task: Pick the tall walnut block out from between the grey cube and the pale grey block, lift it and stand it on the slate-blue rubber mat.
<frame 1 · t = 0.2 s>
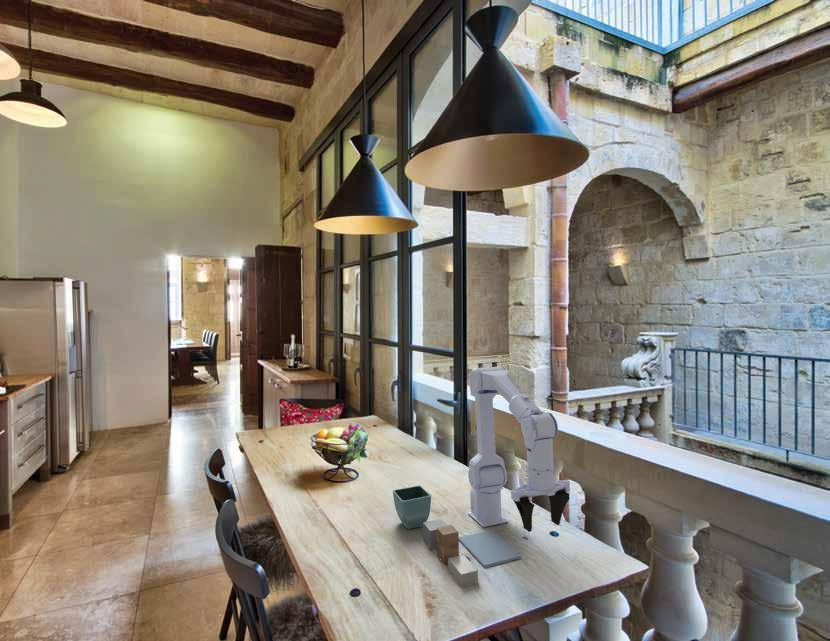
hand: (541, 526, 102), 10 cm above the table, tool pointing down, fingers open, 7 cm apart
flower pot: (412, 525, 126), on the table
grey cube: (436, 544, 115), on the table
slate mat: (488, 548, 112), on the table
pale grey block: (462, 577, 100), on the table
tall walnut block: (448, 558, 108), on the table
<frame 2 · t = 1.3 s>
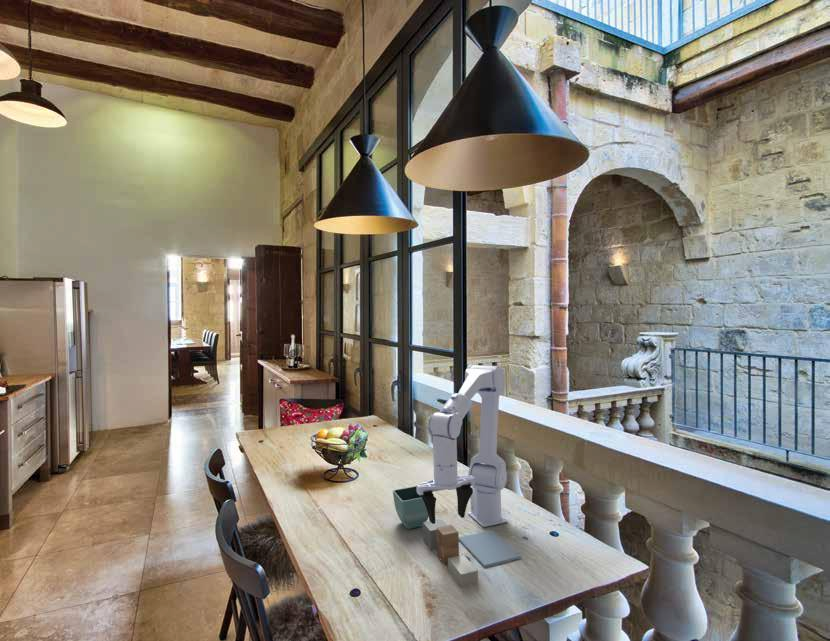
hand: (446, 519, 108), 10 cm above the table, tool pointing down, fingers open, 7 cm apart
nothing on the table moved.
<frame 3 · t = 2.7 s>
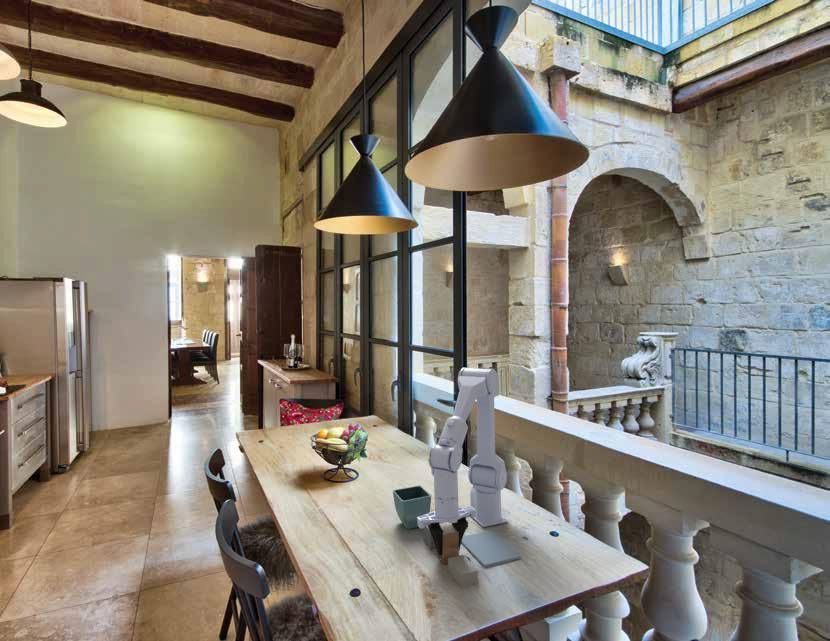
hand: (447, 551, 108), 2 cm above the table, tool pointing down, fingers closed on tall walnut block, 4 cm apart
tall walnut block: (448, 558, 108), on the table, touching gripper
everything else where it was.
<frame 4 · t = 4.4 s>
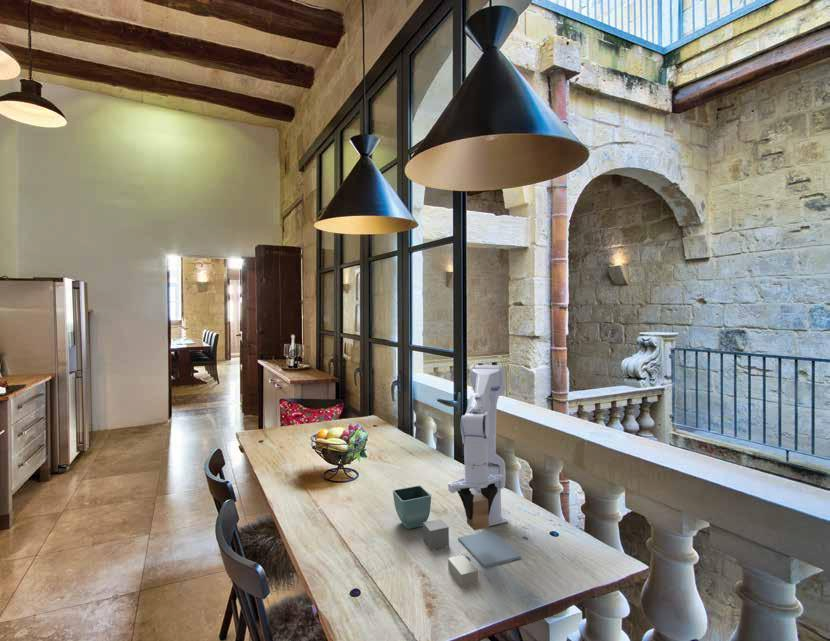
hand: (477, 516, 111), 9 cm above the table, tool pointing down, fingers closed on tall walnut block, 4 cm apart
tall walnut block: (477, 525, 111), point 6 cm above the table, touching gripper
everything else where it was.
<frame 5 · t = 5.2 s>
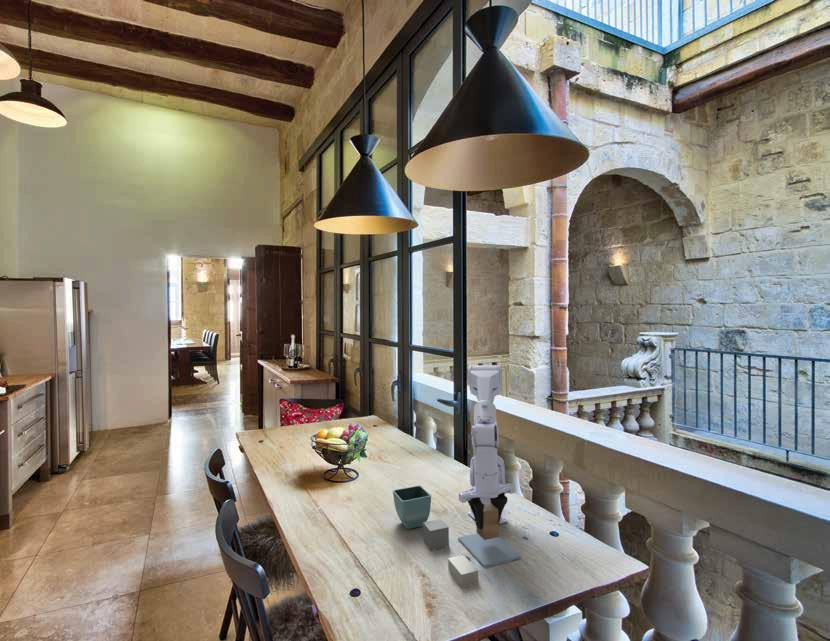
hand: (487, 525, 112), 6 cm above the table, tool pointing down, fingers closed on tall walnut block, 4 cm apart
tall walnut block: (487, 534, 112), point 3 cm above the table, touching gripper
everything else where it was.
when the fingers open (3 cm above the table, at t = 6.1 s): tall walnut block stays where it is, resting on slate mat.
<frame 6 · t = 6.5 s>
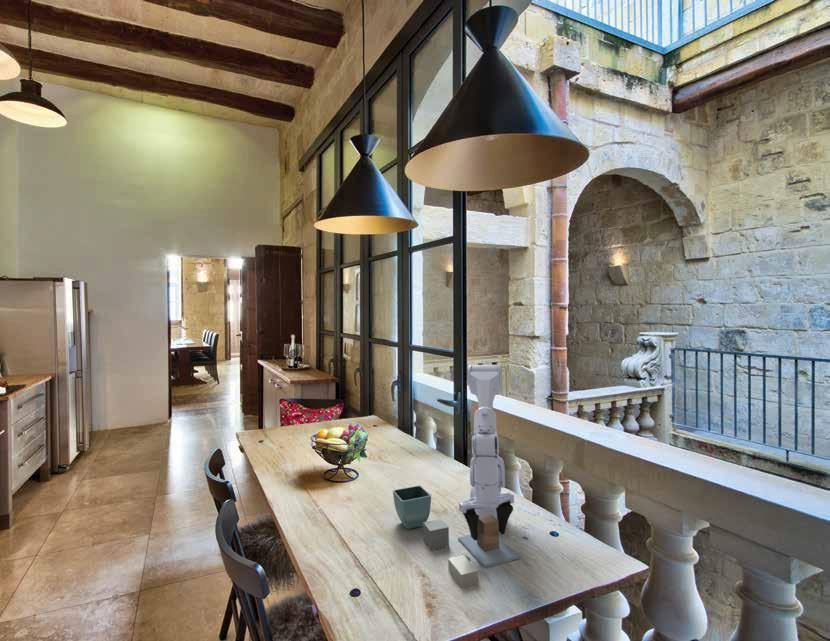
hand: (487, 535, 112), 3 cm above the table, tool pointing down, fingers open, 7 cm apart
tall walnut block: (488, 546, 112), point 1 cm above the table, touching slate mat
everything else where it was.
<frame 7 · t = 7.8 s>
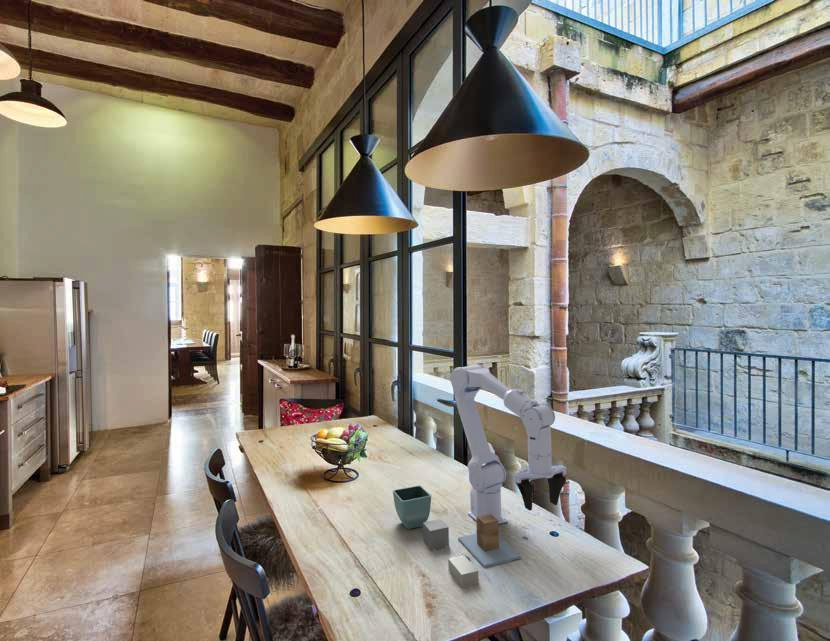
hand: (541, 506, 113), 9 cm above the table, tool pointing down, fingers open, 7 cm apart
nothing on the table moved.
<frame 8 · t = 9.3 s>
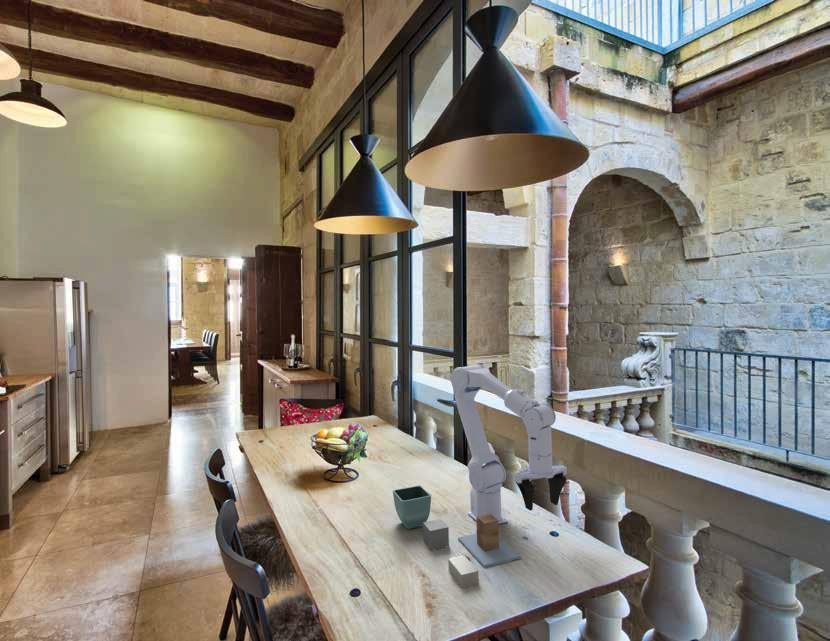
hand: (541, 506, 114), 9 cm above the table, tool pointing down, fingers open, 7 cm apart
nothing on the table moved.
at the end: tall walnut block inside the target area on the slate mat (0.1 cm from its centre), point 0.6 cm above the slate mat's base; tall walnut block tilted 0°; pale grey block moved 0.4 cm from its start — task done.
